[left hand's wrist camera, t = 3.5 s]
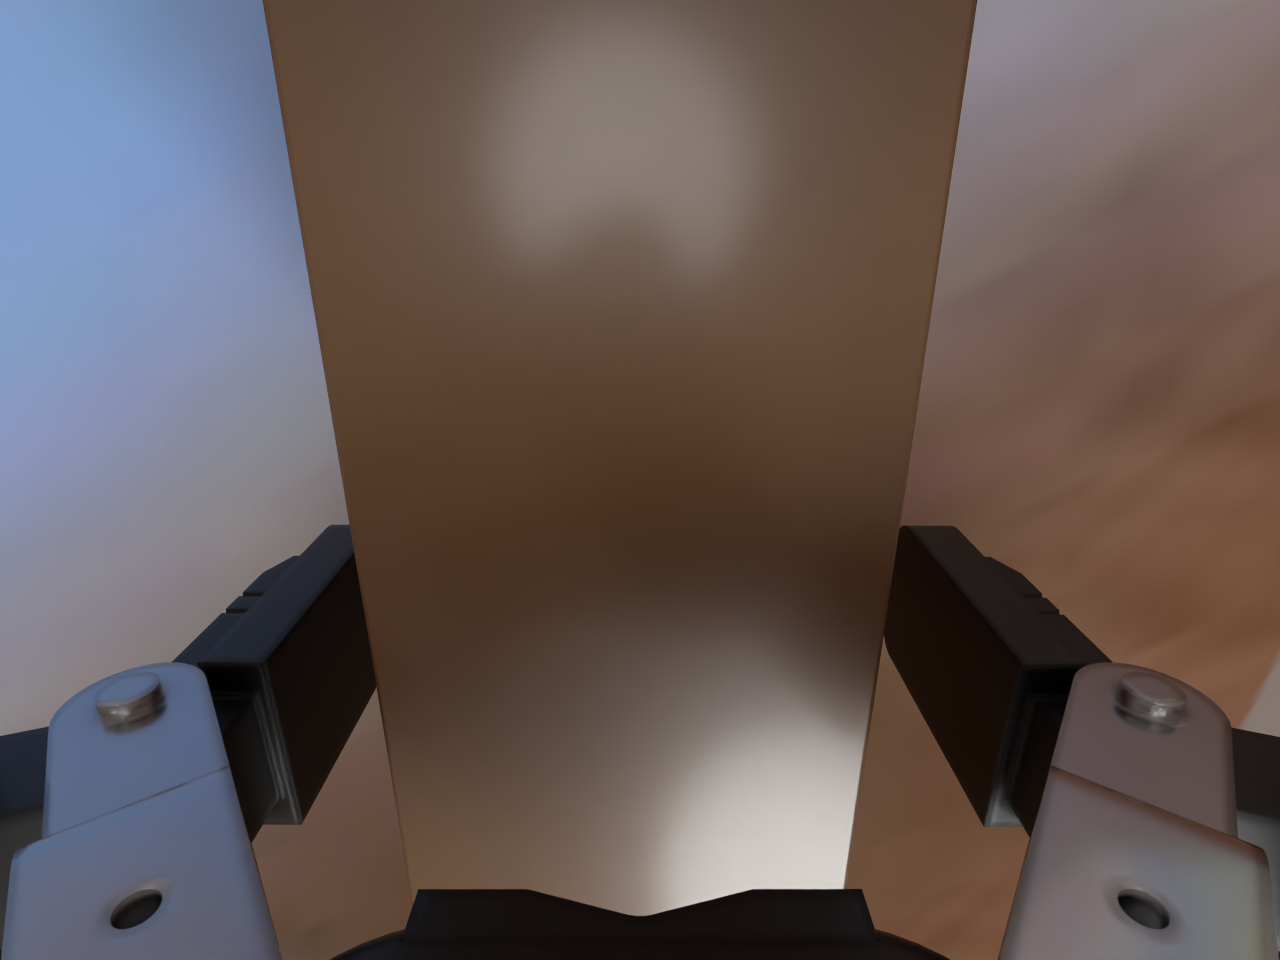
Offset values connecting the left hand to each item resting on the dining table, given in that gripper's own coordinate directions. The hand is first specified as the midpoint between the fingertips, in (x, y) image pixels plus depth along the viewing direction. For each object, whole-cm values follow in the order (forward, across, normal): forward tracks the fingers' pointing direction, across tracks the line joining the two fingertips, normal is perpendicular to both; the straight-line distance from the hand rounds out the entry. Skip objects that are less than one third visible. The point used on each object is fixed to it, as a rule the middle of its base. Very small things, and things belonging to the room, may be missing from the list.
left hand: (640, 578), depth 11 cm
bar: (+5, 0, -8) cm, 9 cm away
